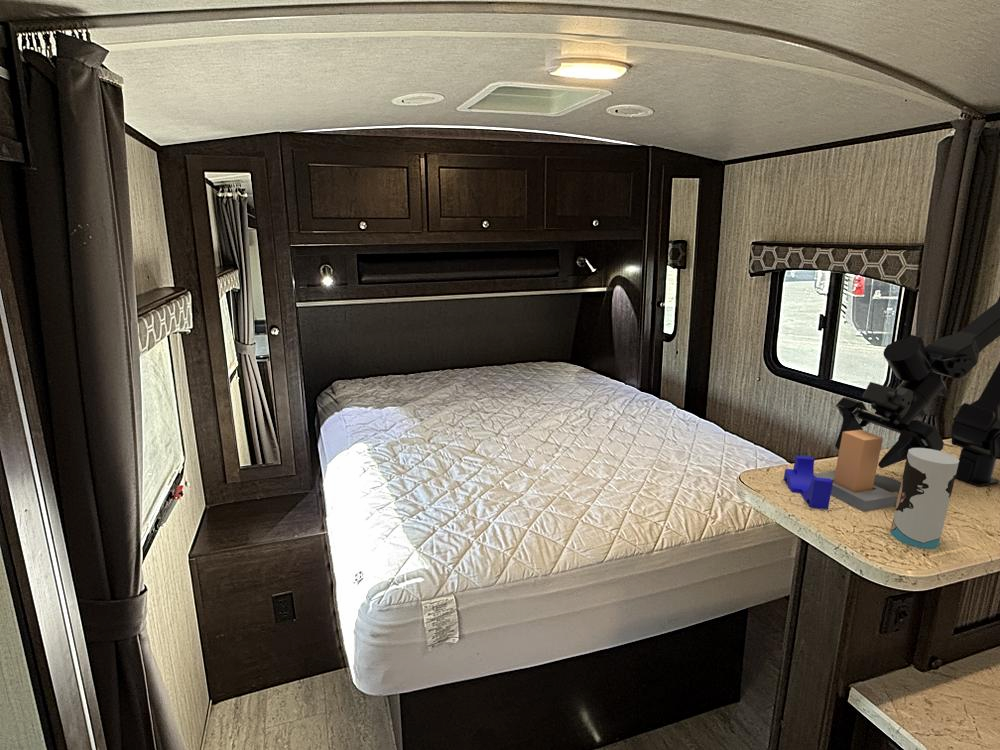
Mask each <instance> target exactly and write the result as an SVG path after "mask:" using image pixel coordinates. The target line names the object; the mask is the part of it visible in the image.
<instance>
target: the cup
mask: <svg viewBox="0 0 1000 750" xmlns="http://www.w3.org/2000/svg"><path fill="white" fill-rule="evenodd" d="M904 464H905V465H904V469H903V473H902V478H901V481H900V482H901V486H900V491H899V492H898V494H897V501H896V505H895V510H894V514H893V518H892V524H891V527H890V534H891V536H892V537H893V538H894V539H896V540H898V541H899V542H900V543H904V544H906V545H908V546H911V547H913V548H919V549H924V550H925V549H927V550H932V549H936V548H938V547H939V546H940V542H941V541H940V540H941V537H942V533H943V528H944V525H945V521H946V518H947V517H946V516H947V512H948V508H949V504H950V501H951V498H952V497H951V496H952V492H953V489H954V485H955V484H954V483H955V480H956V477H955V476H956V472H957V468H958V464H959V457H956V456H954V455H952V454H951V453H948V452H944V451H942V450H941V451H938V450H933V449H927V448H911V449H909V450H908V454H907V459H906V460H905V463H904Z"/></svg>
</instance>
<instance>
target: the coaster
mask: <svg viewBox="0 0 1000 750" xmlns="http://www.w3.org/2000/svg"><path fill="white" fill-rule="evenodd" d="M901 482H902V481H900V480H899V479H898V480H897V479H895V478H893V477H889V476H884V475H882V474H881V475H880V474H875V479H874V484H873V485H875V486H878V487H880V488H882V489H884V490H886V491H888V492H891V493H899V491H900V486H901Z"/></svg>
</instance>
